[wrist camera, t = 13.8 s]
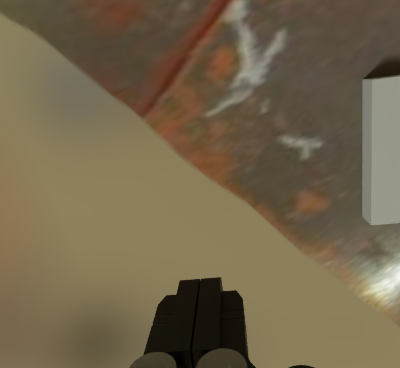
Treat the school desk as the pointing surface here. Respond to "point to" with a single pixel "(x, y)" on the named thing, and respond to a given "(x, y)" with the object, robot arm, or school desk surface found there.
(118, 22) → the school desk surface
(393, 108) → the far plate
